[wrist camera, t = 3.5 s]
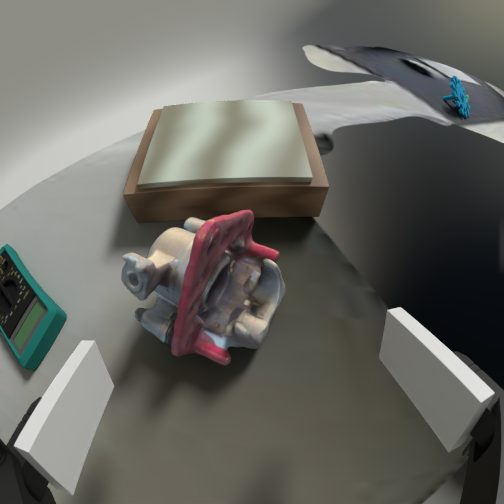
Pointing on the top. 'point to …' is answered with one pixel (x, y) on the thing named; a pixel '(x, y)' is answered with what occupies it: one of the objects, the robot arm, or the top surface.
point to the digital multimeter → (26, 312)
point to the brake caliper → (207, 286)
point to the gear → (458, 96)
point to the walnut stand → (227, 162)
